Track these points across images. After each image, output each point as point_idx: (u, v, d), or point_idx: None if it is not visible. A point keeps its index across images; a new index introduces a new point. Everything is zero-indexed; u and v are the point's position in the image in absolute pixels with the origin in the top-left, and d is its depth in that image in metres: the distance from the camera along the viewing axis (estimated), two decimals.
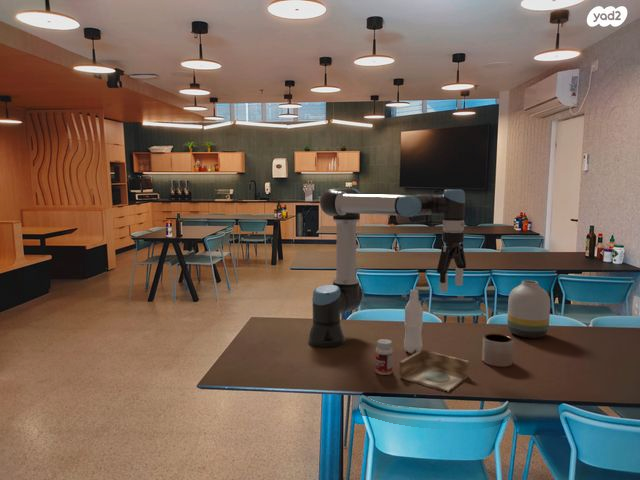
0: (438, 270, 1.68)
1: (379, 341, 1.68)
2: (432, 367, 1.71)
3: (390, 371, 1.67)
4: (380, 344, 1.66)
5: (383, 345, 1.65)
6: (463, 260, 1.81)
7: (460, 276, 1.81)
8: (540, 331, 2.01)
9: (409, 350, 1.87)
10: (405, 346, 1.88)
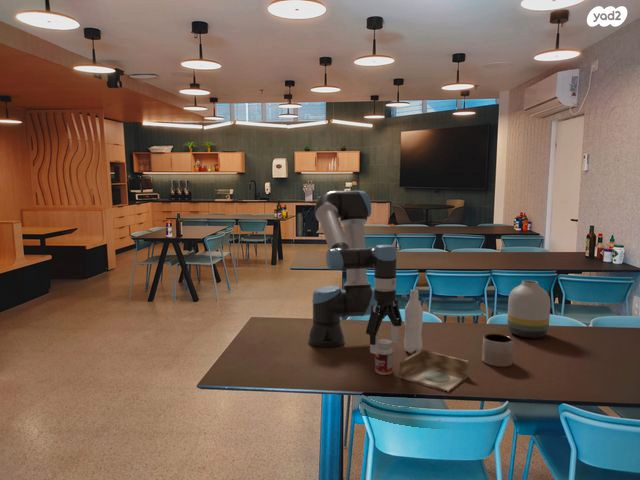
0: (367, 332, 1.59)
1: (379, 341, 1.68)
2: (432, 367, 1.71)
3: (390, 371, 1.67)
4: (380, 344, 1.66)
5: (383, 345, 1.65)
6: (398, 317, 1.72)
7: (395, 334, 1.72)
8: (540, 331, 2.01)
9: (409, 350, 1.87)
10: (405, 346, 1.88)
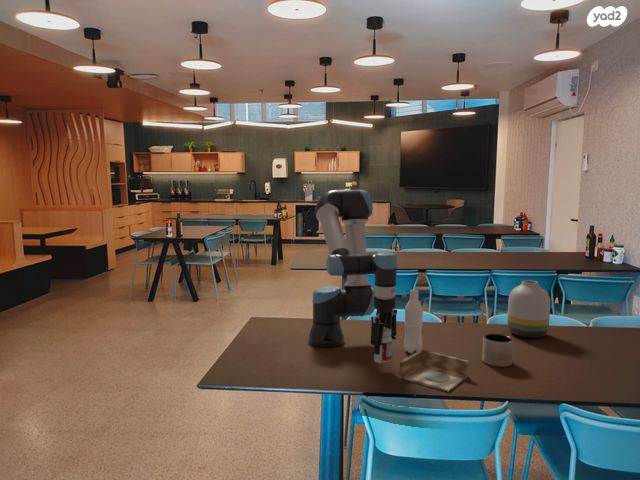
0: (371, 343, 1.63)
1: None
2: (432, 367, 1.71)
3: (389, 359, 1.67)
4: None
5: (383, 333, 1.65)
6: (394, 329, 1.71)
7: None
8: (540, 331, 2.01)
9: (409, 350, 1.87)
10: (405, 346, 1.88)
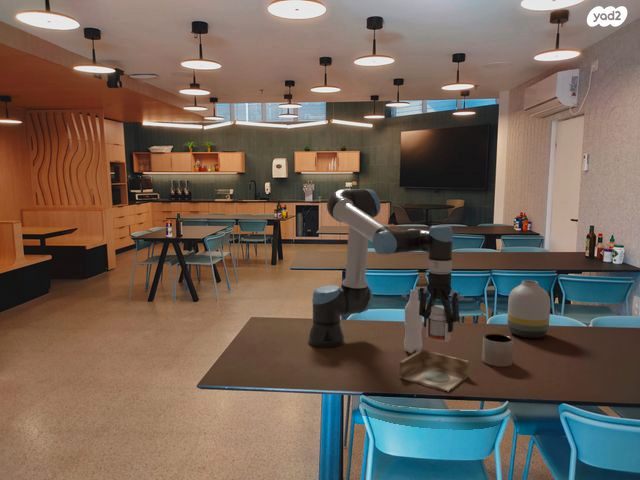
0: None
1: (437, 305, 1.61)
2: (432, 367, 1.71)
3: (433, 338, 1.59)
4: None
5: (431, 308, 1.60)
6: (452, 313, 1.55)
7: None
8: (540, 331, 2.01)
9: (409, 350, 1.87)
10: (405, 346, 1.88)
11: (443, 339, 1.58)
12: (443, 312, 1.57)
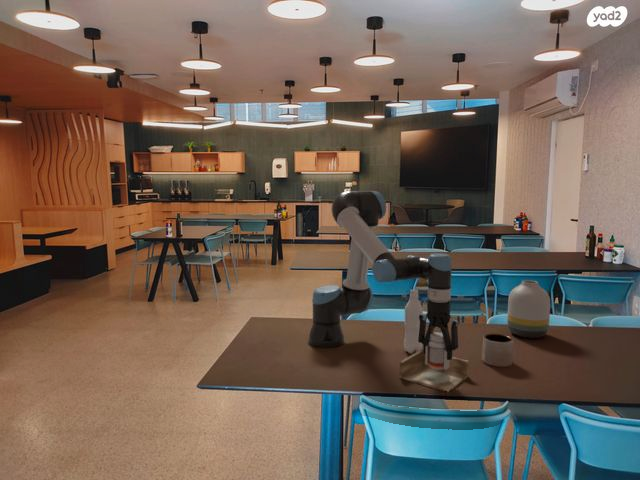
0: None
1: (436, 333, 1.62)
2: None
3: (432, 365, 1.60)
4: None
5: None
6: (451, 341, 1.57)
7: None
8: (540, 331, 2.01)
9: (409, 350, 1.87)
10: (405, 346, 1.88)
11: (442, 367, 1.59)
12: (442, 340, 1.58)
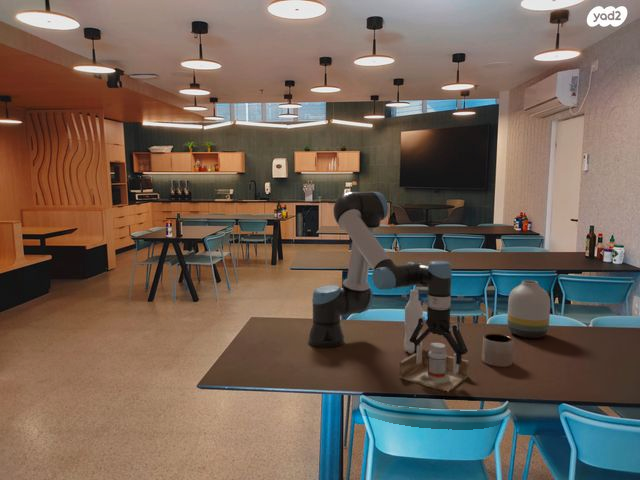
0: None
1: (436, 343, 1.63)
2: None
3: (432, 376, 1.60)
4: None
5: (430, 345, 1.62)
6: (458, 346, 1.55)
7: None
8: (540, 331, 2.01)
9: (409, 350, 1.87)
10: (405, 346, 1.88)
11: (442, 377, 1.60)
12: (442, 350, 1.59)
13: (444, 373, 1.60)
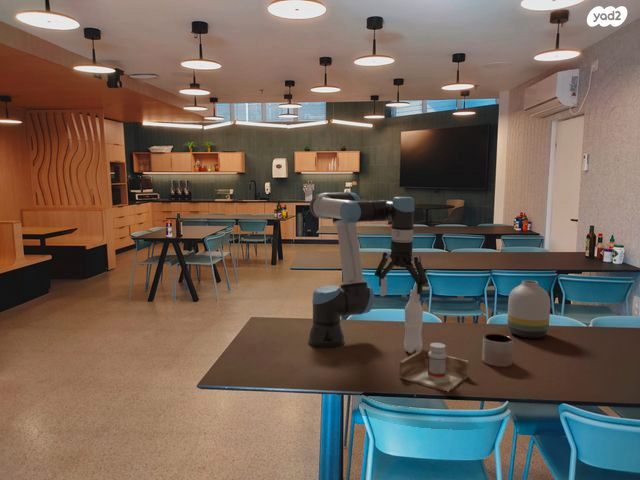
0: None
1: (436, 343, 1.63)
2: None
3: (432, 376, 1.60)
4: None
5: (430, 345, 1.62)
6: (419, 277, 1.63)
7: None
8: (540, 331, 2.01)
9: (409, 350, 1.87)
10: (405, 346, 1.88)
11: (442, 377, 1.60)
12: (442, 350, 1.59)
13: (444, 373, 1.60)
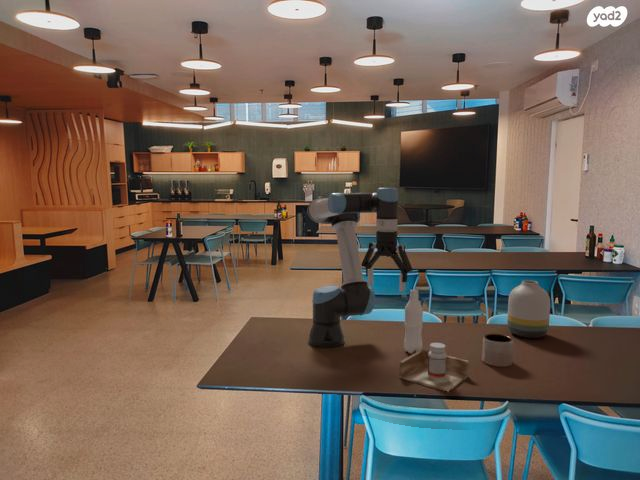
0: None
1: (436, 343, 1.63)
2: None
3: (432, 376, 1.60)
4: None
5: (430, 345, 1.62)
6: (404, 265, 1.66)
7: None
8: (540, 331, 2.01)
9: (409, 350, 1.87)
10: (405, 346, 1.88)
11: (442, 377, 1.60)
12: (442, 350, 1.59)
13: (444, 373, 1.60)
